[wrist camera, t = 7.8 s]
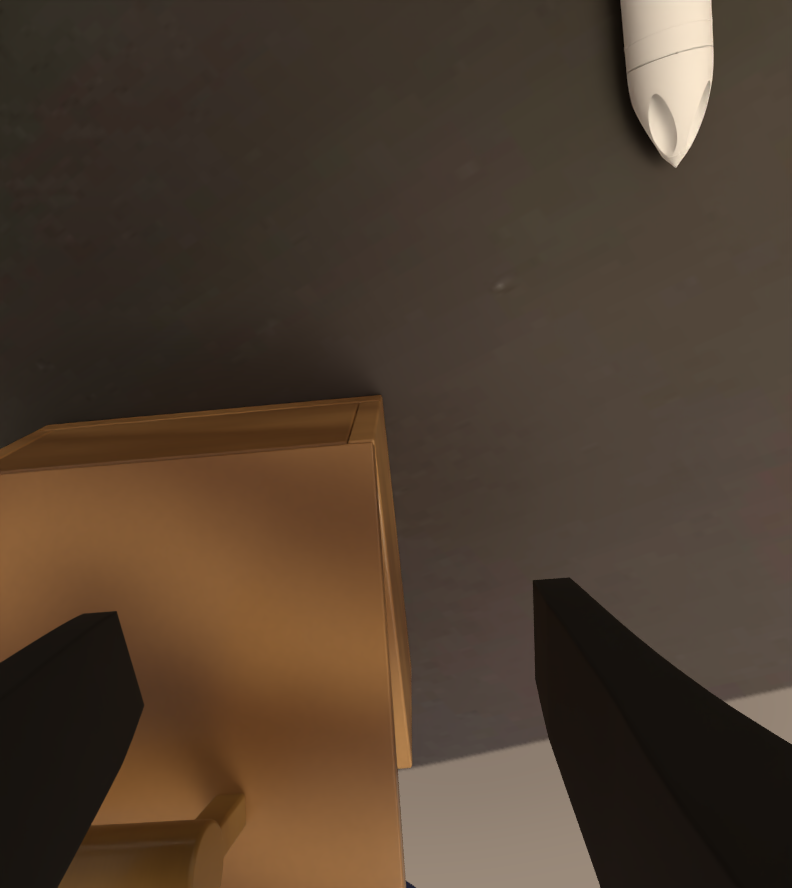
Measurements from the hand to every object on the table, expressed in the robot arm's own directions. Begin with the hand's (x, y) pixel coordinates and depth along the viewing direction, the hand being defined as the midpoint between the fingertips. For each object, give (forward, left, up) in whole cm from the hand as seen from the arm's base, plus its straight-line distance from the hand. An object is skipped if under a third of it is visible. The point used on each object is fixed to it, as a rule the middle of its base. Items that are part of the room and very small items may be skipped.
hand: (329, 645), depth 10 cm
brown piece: (-5, +3, -3) cm, 7 cm away
